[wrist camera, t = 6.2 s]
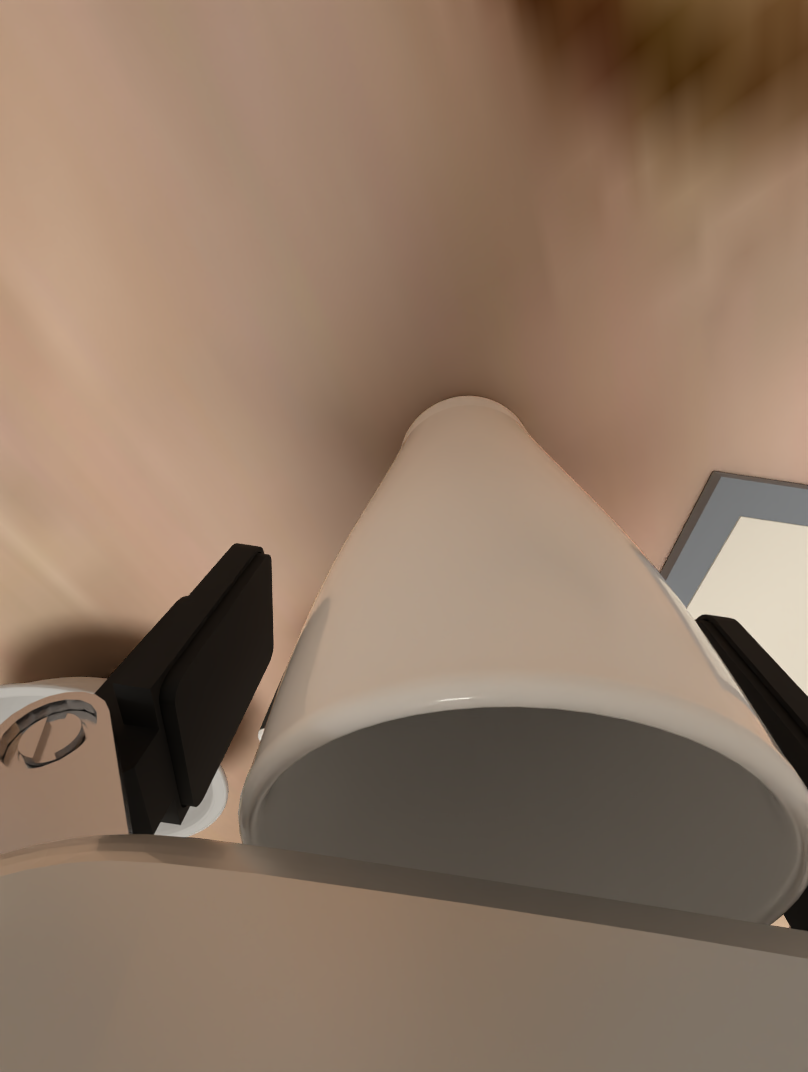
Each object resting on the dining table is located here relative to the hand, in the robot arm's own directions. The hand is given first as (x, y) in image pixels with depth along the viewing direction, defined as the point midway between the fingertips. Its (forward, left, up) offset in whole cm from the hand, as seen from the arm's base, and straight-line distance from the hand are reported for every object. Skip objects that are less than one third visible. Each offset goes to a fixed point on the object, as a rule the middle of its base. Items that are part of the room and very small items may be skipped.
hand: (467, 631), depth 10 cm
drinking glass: (-1, 0, -10) cm, 10 cm away
